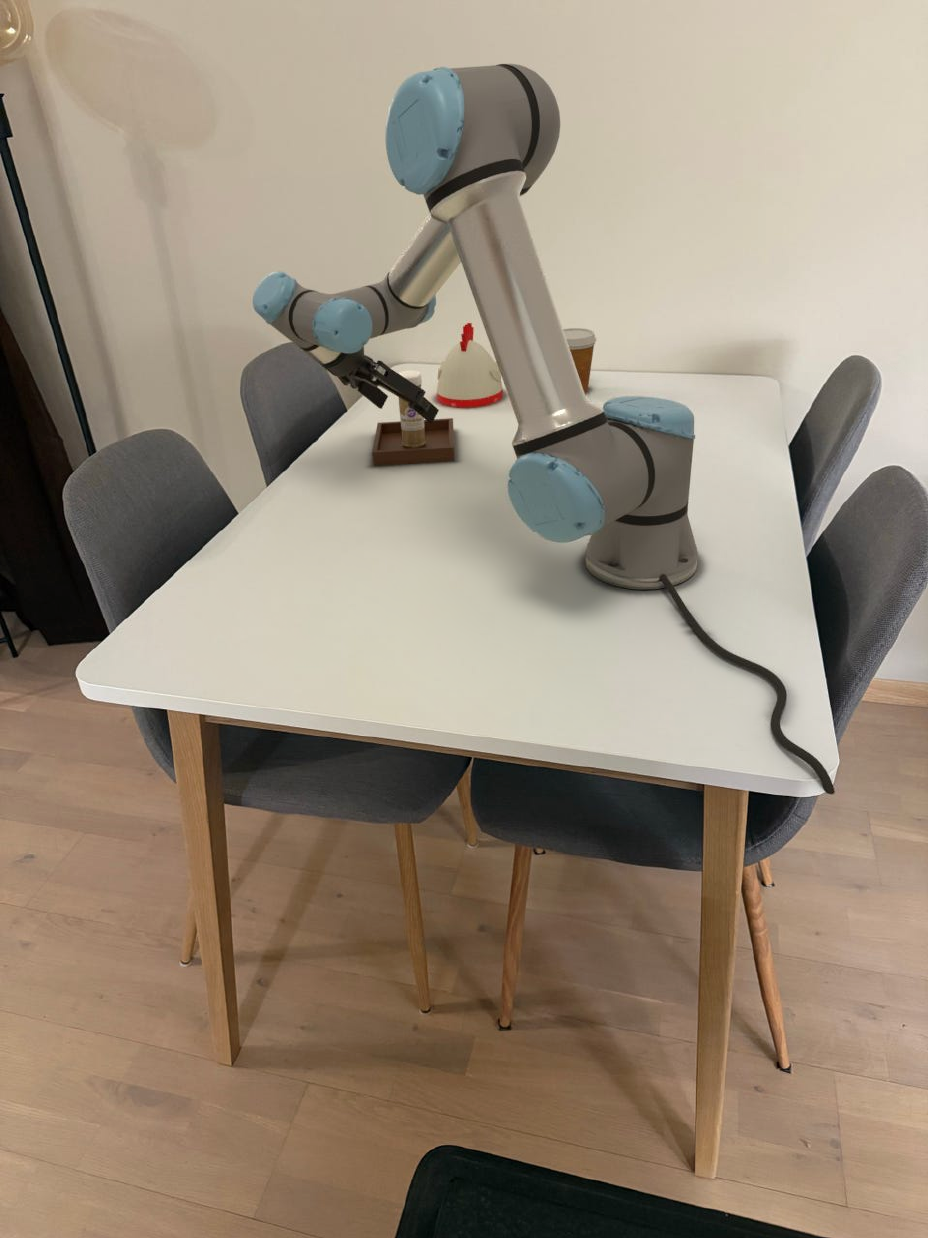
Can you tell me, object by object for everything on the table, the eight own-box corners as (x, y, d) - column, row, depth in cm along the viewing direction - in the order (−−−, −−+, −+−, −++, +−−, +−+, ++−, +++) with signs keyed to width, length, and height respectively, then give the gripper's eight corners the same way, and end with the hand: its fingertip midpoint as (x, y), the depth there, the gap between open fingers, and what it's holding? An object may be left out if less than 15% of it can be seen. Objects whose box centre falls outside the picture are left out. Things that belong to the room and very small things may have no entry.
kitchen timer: (508, 387, 197) (506, 316, 189) (494, 408, 185) (491, 334, 178) (447, 385, 200) (442, 316, 192) (430, 406, 189) (424, 333, 181)
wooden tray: (454, 460, 162) (453, 447, 161) (373, 465, 163) (372, 452, 161) (453, 430, 176) (452, 417, 174) (379, 435, 176) (377, 422, 174)
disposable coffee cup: (542, 388, 195) (541, 332, 188) (580, 380, 198) (581, 324, 191) (564, 400, 187) (565, 342, 181) (604, 392, 190) (605, 334, 184)
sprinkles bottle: (405, 450, 166) (398, 378, 159) (399, 442, 170) (392, 371, 163) (429, 446, 167) (423, 374, 160) (423, 438, 171) (417, 368, 164)
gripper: (393, 335, 140) (466, 403, 157) (297, 315, 155) (373, 379, 172) (371, 378, 140) (446, 441, 157) (277, 353, 155) (355, 413, 172)
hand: (408, 409), depth 164 cm, fingers open, 13 cm apart
